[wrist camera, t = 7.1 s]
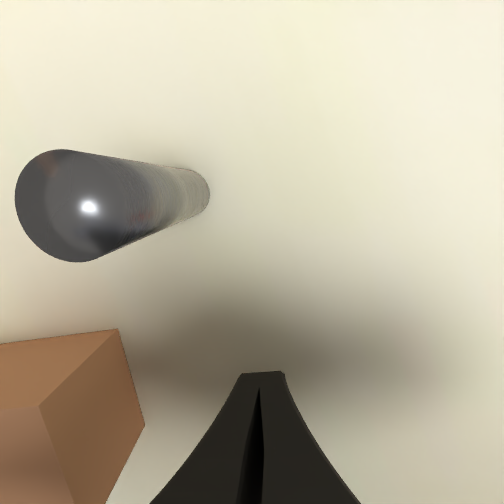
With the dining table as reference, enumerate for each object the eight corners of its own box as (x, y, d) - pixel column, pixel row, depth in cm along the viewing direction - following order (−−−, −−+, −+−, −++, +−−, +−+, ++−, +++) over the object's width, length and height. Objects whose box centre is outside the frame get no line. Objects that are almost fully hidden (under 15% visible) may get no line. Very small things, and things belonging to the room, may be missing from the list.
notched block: (119, 326, 10) (38, 405, 7) (146, 422, 11) (87, 538, 8) (-10, 343, 11) (-153, 426, 7) (26, 434, 12) (-86, 550, 8)
